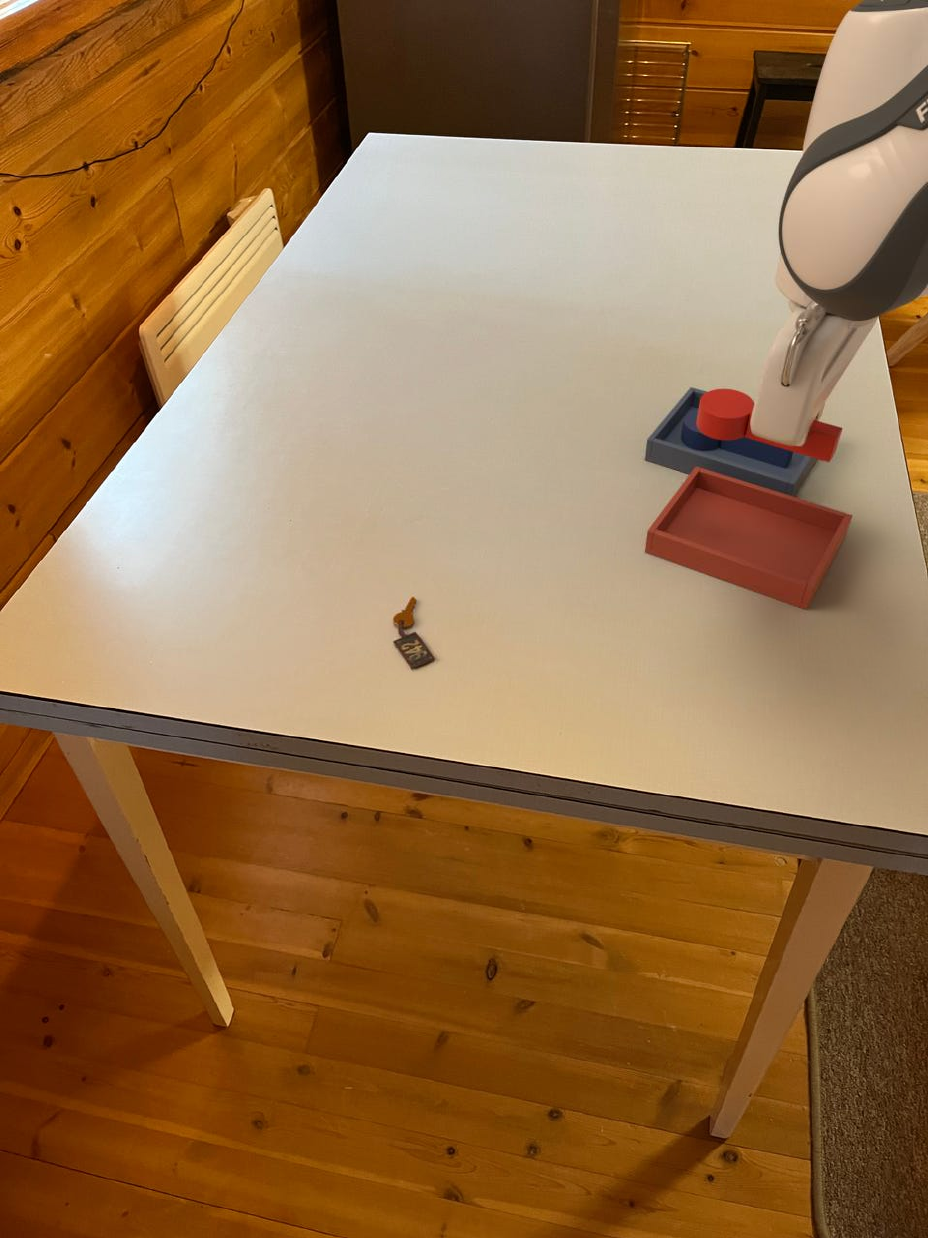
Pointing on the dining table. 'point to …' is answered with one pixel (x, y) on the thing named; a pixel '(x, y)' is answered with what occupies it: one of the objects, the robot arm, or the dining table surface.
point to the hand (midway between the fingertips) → (800, 430)
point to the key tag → (411, 639)
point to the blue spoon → (732, 444)
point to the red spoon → (730, 420)
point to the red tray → (749, 536)
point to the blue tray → (720, 454)
